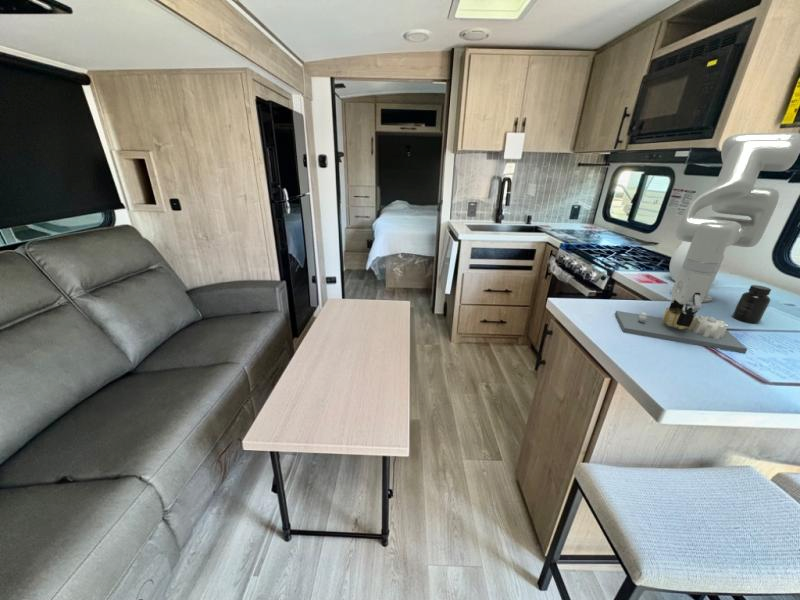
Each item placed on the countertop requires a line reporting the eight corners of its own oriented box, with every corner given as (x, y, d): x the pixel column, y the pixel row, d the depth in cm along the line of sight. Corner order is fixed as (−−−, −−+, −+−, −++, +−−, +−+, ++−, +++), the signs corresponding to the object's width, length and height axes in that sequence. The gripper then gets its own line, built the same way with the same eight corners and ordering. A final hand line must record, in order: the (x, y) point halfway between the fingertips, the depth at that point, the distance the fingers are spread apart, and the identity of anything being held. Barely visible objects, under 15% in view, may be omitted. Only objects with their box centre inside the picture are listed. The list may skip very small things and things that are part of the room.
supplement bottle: (764, 325, 110) (782, 292, 105) (741, 322, 111) (757, 290, 106) (749, 316, 116) (764, 284, 111) (726, 314, 117) (741, 282, 112)
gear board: (614, 314, 115) (619, 298, 112) (722, 331, 105) (730, 314, 102) (623, 332, 103) (628, 314, 100) (745, 353, 93) (754, 334, 90)
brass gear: (658, 316, 107) (662, 305, 106) (686, 321, 105) (690, 309, 103) (665, 326, 101) (670, 314, 99) (695, 331, 98) (700, 319, 97)
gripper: (673, 256, 104) (655, 307, 111) (695, 272, 89) (672, 329, 96) (703, 259, 101) (682, 311, 108) (730, 276, 86) (704, 335, 93)
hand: (677, 319), depth 102 cm, fingers closed on brass gear, 7 cm apart
